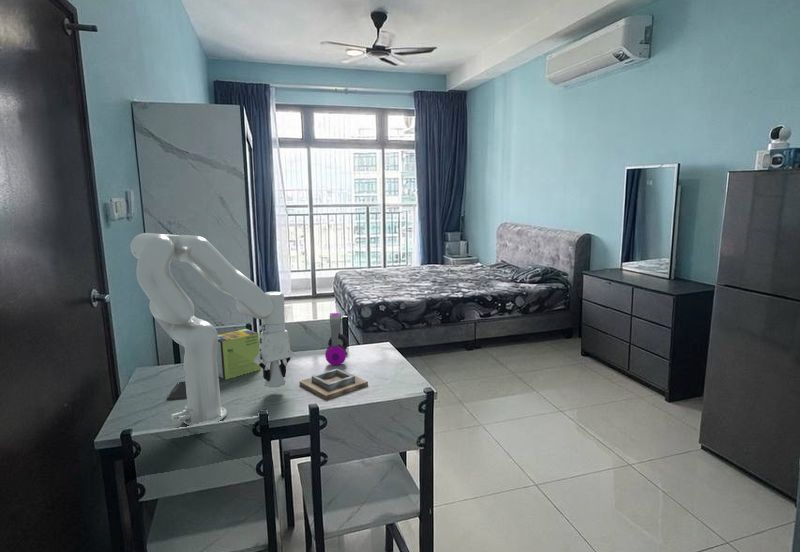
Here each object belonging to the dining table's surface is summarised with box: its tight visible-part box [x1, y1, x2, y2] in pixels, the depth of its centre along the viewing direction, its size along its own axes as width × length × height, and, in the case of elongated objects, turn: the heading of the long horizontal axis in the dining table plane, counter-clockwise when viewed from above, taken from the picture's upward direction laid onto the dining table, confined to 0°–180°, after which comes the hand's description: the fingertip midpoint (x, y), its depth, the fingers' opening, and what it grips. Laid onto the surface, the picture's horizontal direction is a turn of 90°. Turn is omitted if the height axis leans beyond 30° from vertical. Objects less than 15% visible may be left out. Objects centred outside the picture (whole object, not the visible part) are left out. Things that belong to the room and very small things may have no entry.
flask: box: [264, 360, 286, 388], centre depth 161 cm, size 7×7×10 cm
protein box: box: [217, 328, 262, 381], centre depth 183 cm, size 10×15×16 cm
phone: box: [166, 381, 187, 400], centre depth 166 cm, size 8×1×15 cm
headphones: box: [324, 312, 349, 366], centre depth 197 cm, size 21×9×20 cm, turn 4°
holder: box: [298, 368, 369, 401], centre depth 169 cm, size 18×18×4 cm
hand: (274, 377), depth 161 cm, fingers closed on flask, 5 cm apart
